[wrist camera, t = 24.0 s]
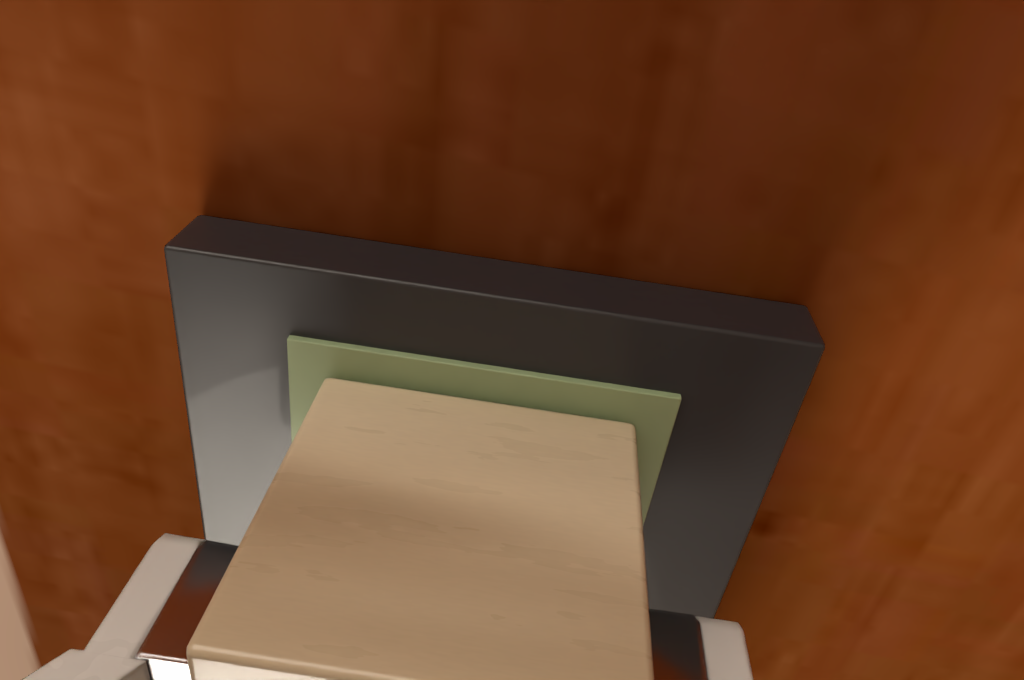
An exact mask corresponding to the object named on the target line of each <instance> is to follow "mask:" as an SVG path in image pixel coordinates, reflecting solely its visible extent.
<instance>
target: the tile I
mask: <svg viewBox="0 0 1024 680" xmlns="http://www.w3.org/2000/svg"><path fill="white" fill-rule="evenodd" d="M186 655H187V661H188V666H189V672H190V677H191V680H654V670H653V657H652V643H651V629H650V616H649V602H648V589H647V575H646V561H645V548H644V534H643V521H642V507H641V493H640V480H639V466H638V453H637V439H636V430H635V427H634V425H632V424H630V423H625V422H619V421H612V420H606V419H599V418H592V417H586V416H579V415H573V414H566V413H560V412H553V411H546V410H540V409H533V408H527V407H520V406H513V405H507V404H500V403H494V402H487V401H481V400H474V399H467V398H461V397H454V396H448V395H441V394H435V393H428V392H421V391H415V390H408V389H402V388H395V387H389V386H382V385H375V384H369V383H362V382H356V381H349V380H343V379H336V378H326V379H325V380H324V381H323V383H322V385H321V387H320V389H319V391H318V393H317V395H316V397H315V399H314V401H313V403H312V405H311V407H310V409H309V411H308V412H307V414H306V416H305V418H304V420H303V422H302V424H301V426H300V428H299V430H298V432H297V434H296V436H295V438H294V440H293V442H292V444H291V446H290V447H289V449H288V451H287V453H286V455H285V457H284V459H283V461H282V463H281V465H280V467H279V469H278V471H277V473H276V475H275V477H274V479H273V481H272V482H271V484H270V486H269V488H268V490H267V492H266V494H265V496H264V498H263V500H262V502H261V504H260V506H259V508H258V510H257V512H256V514H255V515H254V517H253V519H252V521H251V523H250V525H249V527H248V529H247V531H246V533H245V535H244V537H243V539H242V541H241V543H240V545H239V547H238V549H237V550H236V552H235V554H234V556H233V558H232V560H231V562H230V564H229V566H228V568H227V570H226V572H225V574H224V576H223V578H222V580H221V582H220V583H219V585H218V587H217V589H216V591H215V593H214V595H213V597H212V599H211V601H210V603H209V605H208V607H207V609H206V611H205V613H204V615H203V617H202V618H201V620H200V622H199V624H198V626H197V628H196V630H195V632H194V634H193V636H192V638H191V640H190V642H189V644H188V646H187V651H186Z"/></svg>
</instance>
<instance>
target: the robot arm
mask: <svg viewBox="0 0 1024 680" xmlns="http://www.w3.org/2000/svg"><path fill="white" fill-rule="evenodd" d="M238 547H239V546H237V545H231V544H226V543H220V542H215V541H209V540H203V539H197V538H191V537H185V536H179V535H173V534H167V533H165V534H164V535H163V536H161V537H160V538H159V539H158V540H157V541H156V542H154V543H153V544H152V546H151V547H150V549H149V550H148V552H147V553H146V555H145V556H144V558H143V560H142V561H141V563H140V564H139V566H138V567H137V569H136V570H135V572H134V573H133V575H132V577H131V578H130V580H129V581H128V583H127V584H126V586H125V587H124V589H123V590H122V592H121V594H120V595H119V597H118V598H117V600H116V601H115V603H114V604H113V606H112V607H111V609H110V611H109V612H108V614H107V615H106V617H105V618H104V620H103V621H102V623H101V624H100V626H99V628H98V629H97V631H96V632H95V634H94V635H93V637H92V638H91V640H90V641H89V643H88V645H87V646H86V648H85V649H84V650H77V649H70V650H68V651H66V652H65V653H63V654H62V655H60V656H58V657H57V658H55V659H54V660H52V661H50V662H49V663H47V664H46V665H44V666H43V667H41V668H39V669H38V670H36V671H35V672H33V673H31V674H30V675H28V676H27V677H25V678H24V679H22V680H191V677H190V672H189V666H188V661H187V655H186V651H187V646H188V644H189V642H190V640H191V638H192V636H193V634H194V632H195V630H196V628H197V626H198V624H199V622H200V620H201V618H202V617H203V615H204V613H205V611H206V609H207V607H208V605H209V603H210V601H211V599H212V597H213V595H214V593H215V591H216V589H217V587H218V585H219V583H220V582H221V580H222V578H223V576H224V574H225V572H226V570H227V568H228V566H229V564H230V562H231V560H232V558H233V556H234V554H235V552H236V550H237V549H238ZM649 616H650V629H651V643H652V657H653V670H654V680H753V675H752V670H751V665H750V660H749V655H748V650H747V645H746V640H745V635H744V631H743V629H742V628H741V626H740V625H739V623H737V622H732V621H725V620H719V619H712V618H706V617H699V616H696V617H695V616H694V615H692V614H685V613H678V612H671V611H664V610H657V609H650V608H649Z"/></svg>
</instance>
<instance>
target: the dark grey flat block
mask: <svg viewBox="0 0 1024 680" xmlns="http://www.w3.org/2000/svg"><path fill="white" fill-rule="evenodd" d="M164 251H165V258H166V265H167V272H168V280H169V287H170V294H171V301H172V308H173V315H174V322H175V330H176V337H177V344H178V351H179V358H180V365H181V373H182V380H183V387H184V394H185V401H186V408H187V415H188V423H189V430H190V437H191V444H192V451H193V458H194V466H195V473H196V480H197V487H198V494H199V501H200V508H201V516H202V523H203V530H204V537H205V540H209V541H215V542H220V543H226V544H231V545H237V546H239V545H240V543H241V541H242V539H243V537H244V535H245V533H246V531H247V529H248V527H249V525H250V523H251V521H252V519H253V517H254V515H255V514H256V512H257V510H258V508H259V506H260V504H261V502H262V500H263V498H264V496H265V494H266V492H267V490H268V488H269V486H270V484H271V482H272V481H273V479H274V477H275V475H276V473H277V471H278V469H279V467H280V465H281V463H282V461H283V459H284V457H285V455H286V453H287V451H288V449H289V447H290V446H291V444H292V442H293V440H294V438H295V436H296V434H297V432H298V430H299V428H300V426H301V424H302V422H303V420H304V418H305V416H306V414H307V412H308V411H309V409H310V407H311V405H312V403H313V401H314V399H315V397H316V395H317V393H318V391H319V389H320V387H321V385H322V383H323V381H324V380H325V379H326V378H336V379H343V380H349V381H356V382H362V383H369V384H375V385H382V386H389V387H395V388H402V389H408V390H415V391H421V392H428V393H435V394H441V395H448V396H454V397H461V398H467V399H474V400H481V401H487V402H494V403H500V404H507V405H513V406H520V407H527V408H533V409H540V410H546V411H553V412H560V413H566V414H573V415H579V416H586V417H592V418H599V419H606V420H612V421H619V422H625V423H630V424H632V425H634V427H635V430H636V439H637V453H638V466H639V480H640V493H641V507H642V521H643V534H644V548H645V561H646V575H647V589H648V602H649V608H650V609H657V610H664V611H671V612H678V613H685V614H692V615H694V616H695V617H696V616H699V617H706V618H712V619H713V618H714V616H715V613H716V611H717V609H718V606H719V604H720V601H721V599H722V596H723V594H724V592H725V589H726V587H727V584H728V582H729V579H730V577H731V575H732V572H733V570H734V567H735V565H736V562H737V560H738V558H739V555H740V553H741V550H742V548H743V545H744V543H745V541H746V538H747V536H748V533H749V531H750V528H751V526H752V524H753V521H754V519H755V516H756V514H757V511H758V509H759V507H760V504H761V502H762V499H763V497H764V494H765V492H766V490H767V487H768V485H769V482H770V480H771V477H772V475H773V473H774V470H775V468H776V465H777V463H778V460H779V458H780V456H781V453H782V451H783V448H784V446H785V443H786V441H787V439H788V436H789V434H790V431H791V429H792V426H793V424H794V422H795V419H796V417H797V414H798V412H799V409H800V407H801V405H802V402H803V400H804V397H805V395H806V392H807V390H808V388H809V385H810V383H811V380H812V378H813V375H814V373H815V371H816V368H817V366H818V363H819V361H820V358H821V356H822V354H823V351H824V349H825V344H824V342H823V340H822V338H821V336H820V334H819V332H818V329H817V327H816V325H815V323H814V321H813V319H812V317H811V315H810V313H809V311H808V309H807V307H806V306H803V305H797V304H790V303H784V302H777V301H770V300H764V299H757V298H750V297H744V296H737V295H730V294H724V293H717V292H710V291H704V290H697V289H690V288H684V287H677V286H670V285H664V284H657V283H650V282H644V281H637V280H630V279H624V278H617V277H610V276H604V275H597V274H590V273H584V272H577V271H570V270H564V269H557V268H550V267H544V266H537V265H530V264H524V263H517V262H510V261H504V260H497V259H490V258H484V257H477V256H470V255H464V254H457V253H450V252H444V251H437V250H430V249H424V248H417V247H410V246H404V245H397V244H390V243H384V242H377V241H370V240H364V239H357V238H350V237H344V236H337V235H330V234H324V233H317V232H310V231H304V230H297V229H290V228H284V227H277V226H270V225H264V224H257V223H250V222H244V221H237V220H230V219H224V218H217V217H210V216H204V215H200V216H197V217H196V218H195V219H194V220H193V221H192V222H191V223H190V224H188V225H187V226H186V227H185V228H184V229H183V230H182V231H181V232H180V233H178V234H177V235H176V236H175V237H174V238H173V239H172V240H171V241H170V242H168V243H167V244H166V245H165V248H164Z"/></svg>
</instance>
